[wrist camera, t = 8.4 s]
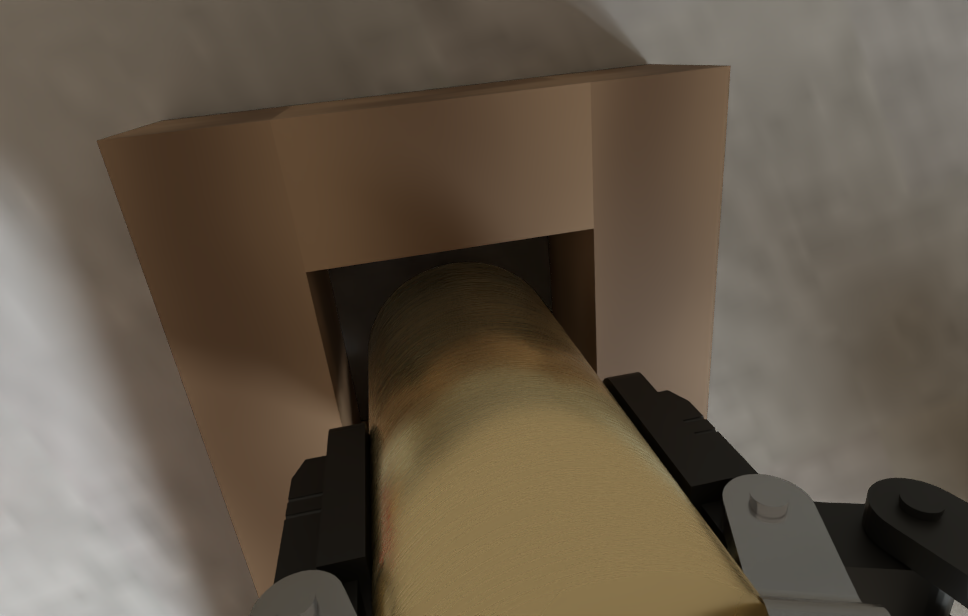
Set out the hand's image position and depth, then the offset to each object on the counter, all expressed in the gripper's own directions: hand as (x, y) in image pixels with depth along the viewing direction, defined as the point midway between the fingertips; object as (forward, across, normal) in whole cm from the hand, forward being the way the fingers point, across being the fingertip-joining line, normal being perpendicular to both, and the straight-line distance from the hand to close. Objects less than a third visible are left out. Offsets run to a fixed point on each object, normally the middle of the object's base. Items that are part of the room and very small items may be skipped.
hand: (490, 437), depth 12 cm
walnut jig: (+7, 0, +6) cm, 9 cm away
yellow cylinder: (+4, 0, 0) cm, 4 cm away
